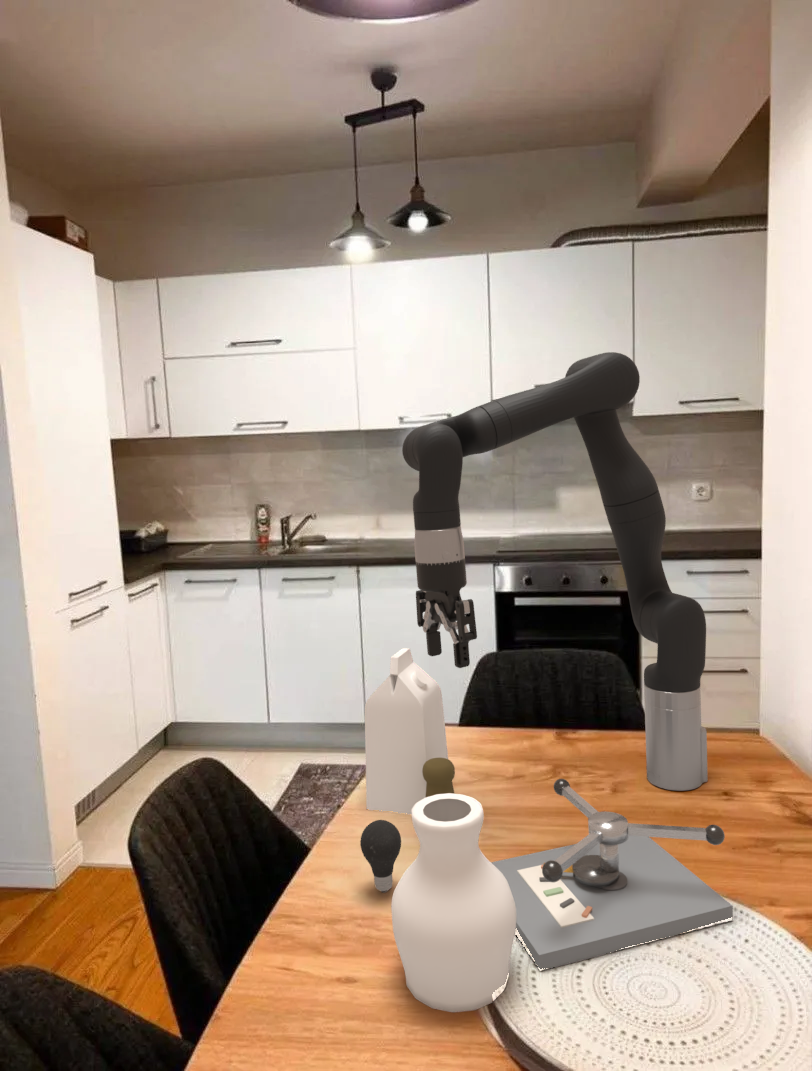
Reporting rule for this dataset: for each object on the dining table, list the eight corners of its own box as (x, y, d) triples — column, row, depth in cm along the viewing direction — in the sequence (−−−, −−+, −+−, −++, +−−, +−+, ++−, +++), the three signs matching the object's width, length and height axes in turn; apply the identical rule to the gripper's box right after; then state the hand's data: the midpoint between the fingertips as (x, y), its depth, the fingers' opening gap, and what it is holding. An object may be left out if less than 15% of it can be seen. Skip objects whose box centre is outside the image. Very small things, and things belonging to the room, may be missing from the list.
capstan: (711, 835, 107) (710, 783, 106) (743, 948, 83) (742, 882, 82) (549, 824, 113) (547, 775, 112) (536, 927, 89) (533, 865, 88)
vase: (431, 921, 96) (422, 772, 93) (537, 953, 88) (530, 792, 86) (371, 994, 83) (358, 824, 81) (488, 1038, 76) (477, 853, 74)
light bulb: (363, 881, 106) (358, 814, 105) (402, 877, 106) (398, 810, 105) (364, 905, 100) (359, 834, 99) (406, 900, 100) (401, 830, 99)
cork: (458, 836, 116) (454, 769, 115) (420, 835, 118) (415, 768, 116) (463, 817, 122) (459, 753, 121) (426, 816, 123) (422, 752, 122)
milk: (391, 779, 138) (382, 642, 136) (450, 785, 134) (442, 644, 132) (366, 809, 127) (355, 661, 124) (430, 816, 123) (421, 663, 120)
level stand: (640, 842, 111) (640, 826, 111) (732, 920, 92) (732, 901, 92) (477, 878, 104) (476, 862, 104) (539, 971, 85) (538, 951, 85)
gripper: (486, 558, 109) (494, 666, 110) (438, 550, 121) (446, 647, 123) (441, 565, 105) (450, 676, 107) (397, 556, 118) (405, 656, 120)
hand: (448, 660), depth 115 cm, fingers open, 8 cm apart
